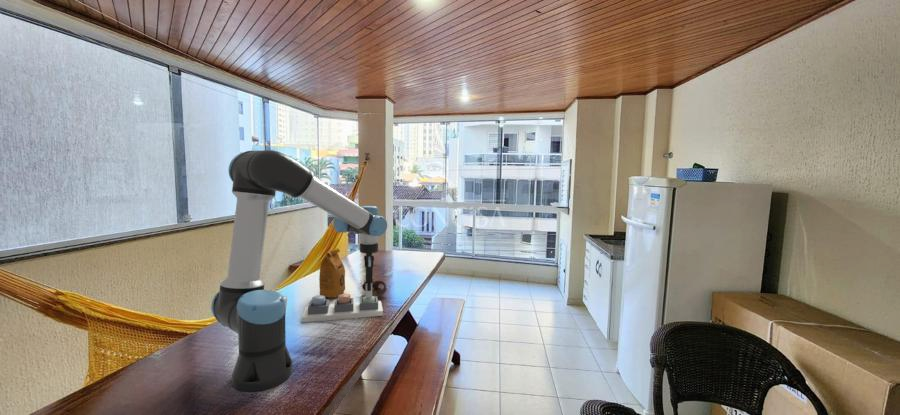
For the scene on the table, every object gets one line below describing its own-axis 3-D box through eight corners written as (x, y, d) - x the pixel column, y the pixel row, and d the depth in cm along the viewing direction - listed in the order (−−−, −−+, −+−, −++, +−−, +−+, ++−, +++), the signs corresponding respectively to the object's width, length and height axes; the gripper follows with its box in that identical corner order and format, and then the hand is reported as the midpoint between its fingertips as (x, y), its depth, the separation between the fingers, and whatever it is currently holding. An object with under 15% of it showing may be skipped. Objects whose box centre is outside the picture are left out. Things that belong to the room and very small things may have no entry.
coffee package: (348, 291, 169) (348, 248, 167) (335, 300, 157) (335, 253, 155) (330, 290, 171) (330, 246, 169) (316, 298, 158) (315, 252, 157)
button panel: (302, 322, 132) (302, 310, 132) (306, 310, 144) (306, 299, 143) (382, 315, 141) (383, 303, 140) (380, 305, 152) (380, 294, 152)
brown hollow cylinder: (386, 292, 171) (389, 280, 167) (381, 306, 163) (384, 295, 158) (363, 286, 170) (365, 274, 166) (357, 300, 162) (359, 288, 158)
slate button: (311, 307, 136) (311, 300, 136) (312, 302, 141) (312, 295, 141) (324, 306, 137) (324, 299, 137) (325, 301, 142) (325, 294, 142)
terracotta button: (337, 305, 139) (337, 298, 138) (338, 301, 144) (338, 294, 143) (350, 304, 140) (350, 297, 140) (350, 300, 145) (350, 293, 145)
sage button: (362, 307, 142) (362, 300, 141) (362, 303, 146) (362, 296, 146) (375, 306, 143) (375, 299, 143) (374, 302, 148) (374, 295, 148)
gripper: (379, 245, 137) (378, 302, 139) (377, 239, 150) (376, 291, 152) (360, 246, 135) (360, 303, 137) (359, 240, 148) (359, 292, 150)
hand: (368, 297), depth 144 cm, fingers closed
